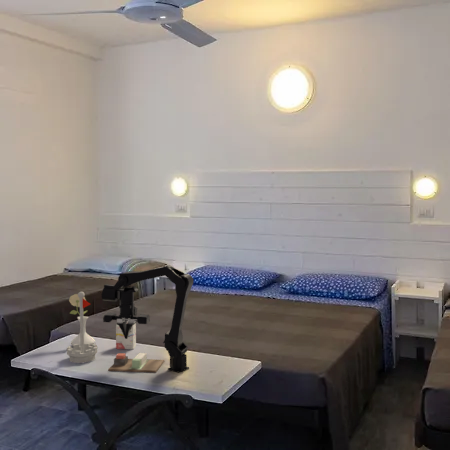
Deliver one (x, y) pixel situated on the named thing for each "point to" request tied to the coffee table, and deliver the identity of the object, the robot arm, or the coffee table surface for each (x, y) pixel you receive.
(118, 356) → the button
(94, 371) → the coffee table surface
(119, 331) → the ink cartridge box
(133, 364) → the block
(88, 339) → the flower in vase
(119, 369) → the brown control panel
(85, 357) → the flag stand
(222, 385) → the coffee table surface
